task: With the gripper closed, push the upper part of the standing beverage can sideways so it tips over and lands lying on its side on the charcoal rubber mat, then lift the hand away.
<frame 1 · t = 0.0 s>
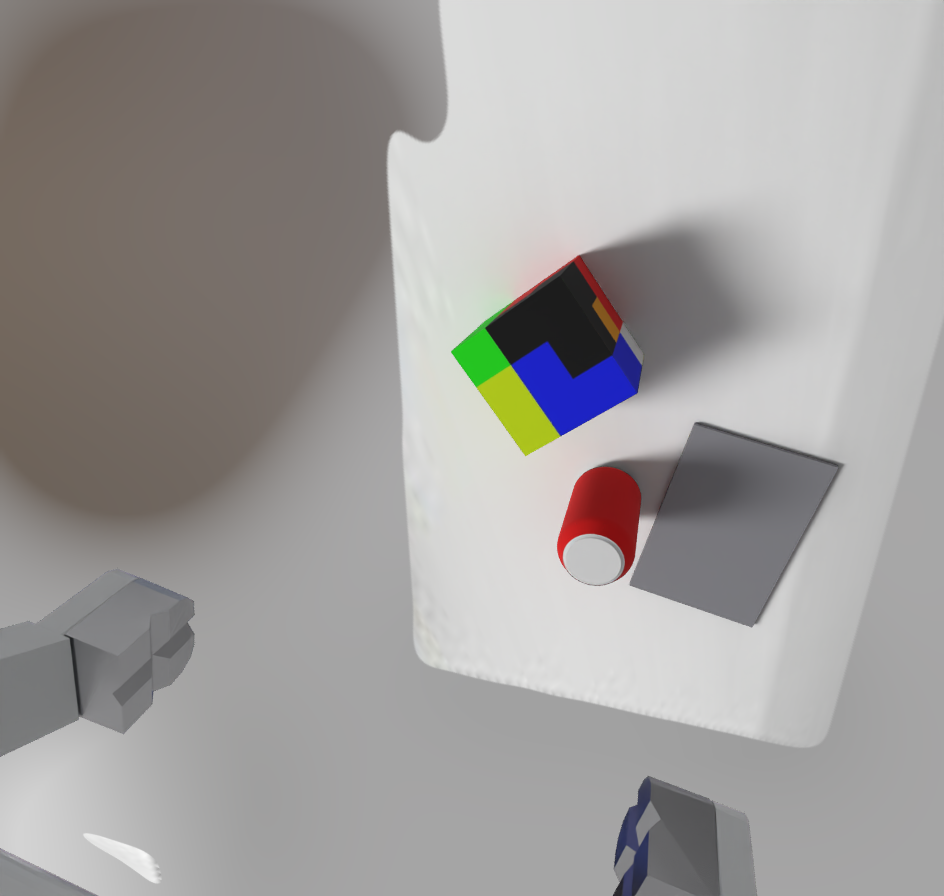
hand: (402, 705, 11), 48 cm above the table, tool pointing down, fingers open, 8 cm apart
beverage can: (607, 490, 62), on the table
puzzle toy: (563, 336, 57), on the table
mat: (724, 528, 60), on the table
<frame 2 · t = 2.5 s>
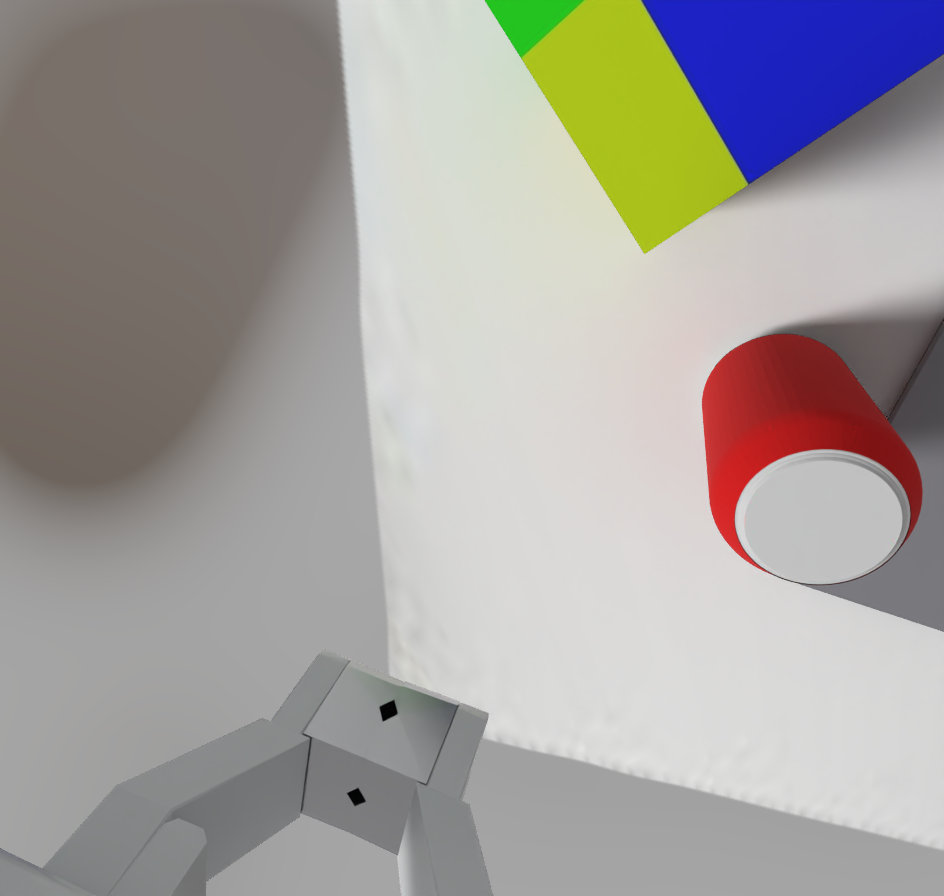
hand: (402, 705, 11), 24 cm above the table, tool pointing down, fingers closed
beverage can: (771, 391, 30), on the table
puzzle toy: (701, 33, 26), on the table
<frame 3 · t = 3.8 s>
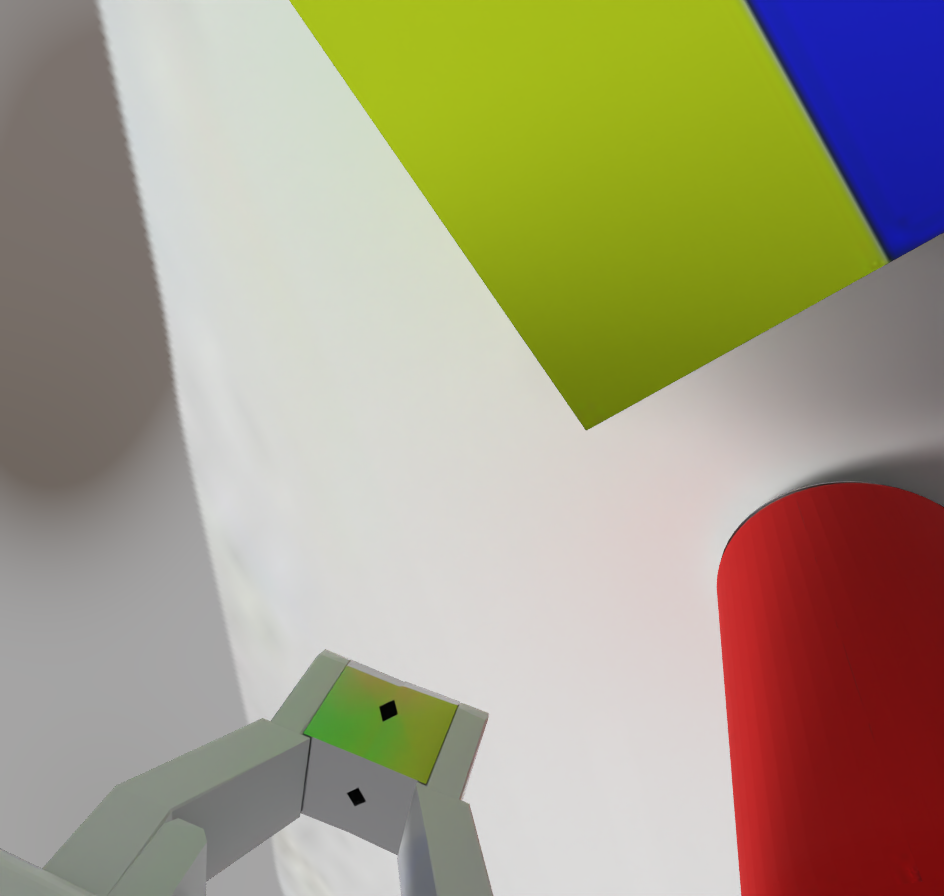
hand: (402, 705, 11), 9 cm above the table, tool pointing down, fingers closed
beverage can: (834, 560, 18), on the table
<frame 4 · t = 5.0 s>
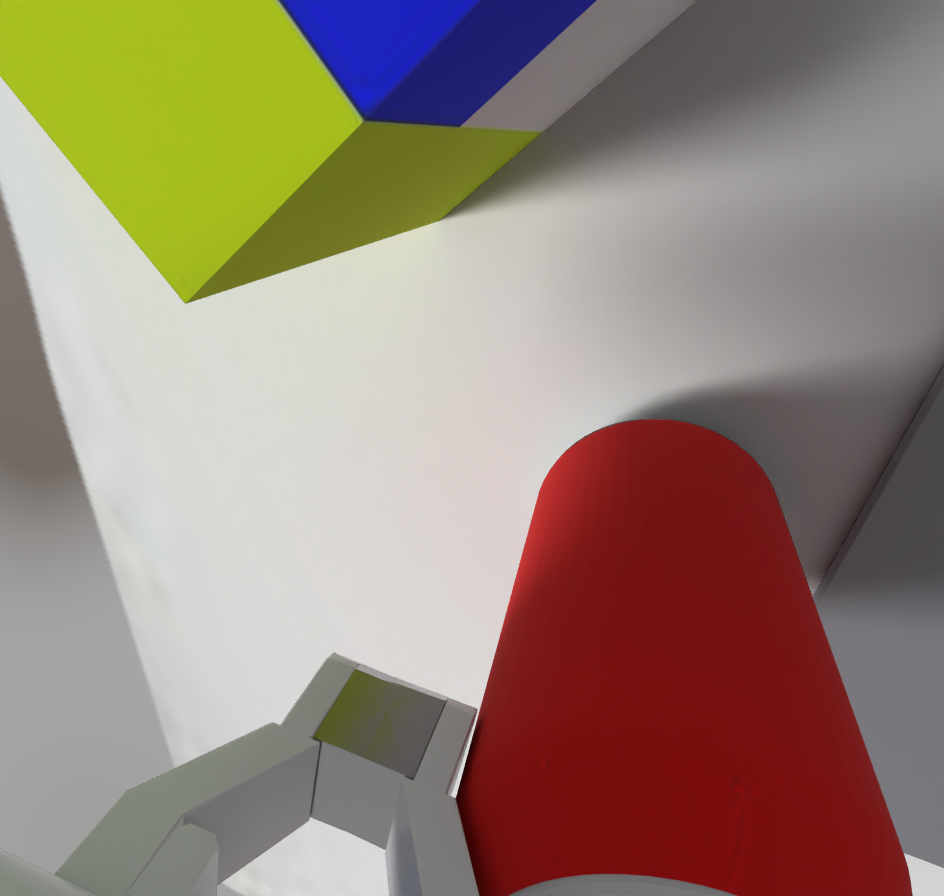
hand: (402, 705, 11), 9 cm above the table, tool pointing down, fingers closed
beverage can: (651, 499, 18), on the table, touching gripper
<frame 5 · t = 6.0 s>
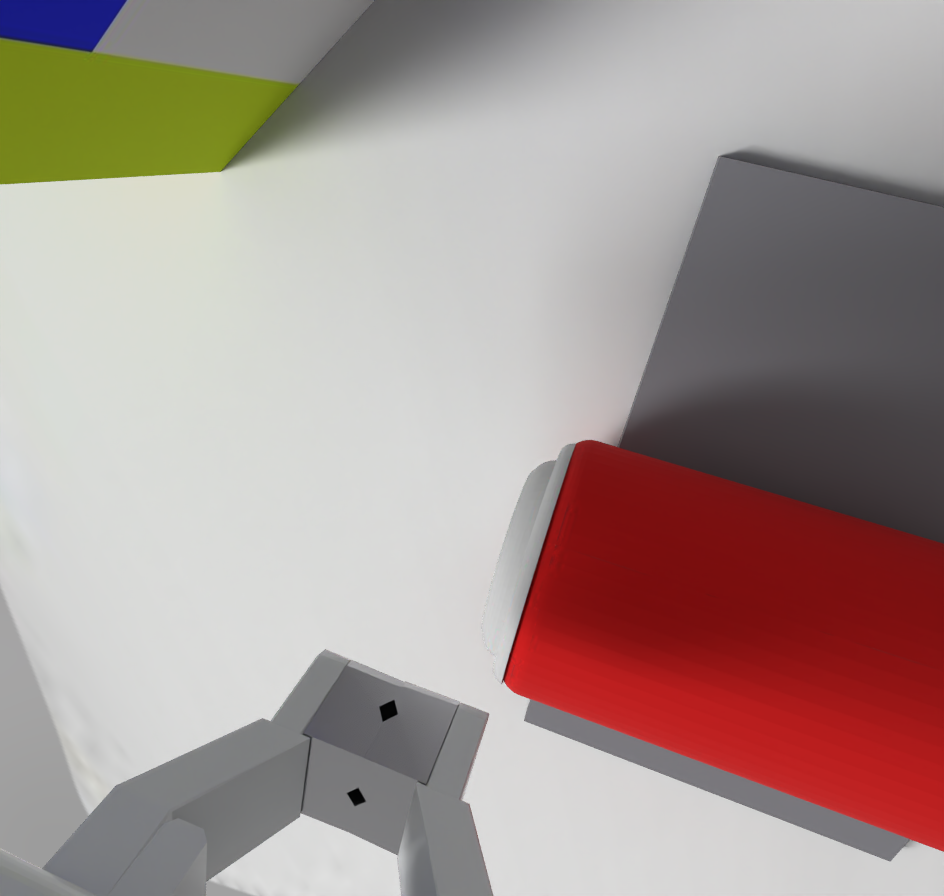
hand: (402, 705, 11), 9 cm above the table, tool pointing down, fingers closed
beverage can: (501, 545, 16), point 4 cm above the table, touching mat
mat: (817, 564, 18), on the table
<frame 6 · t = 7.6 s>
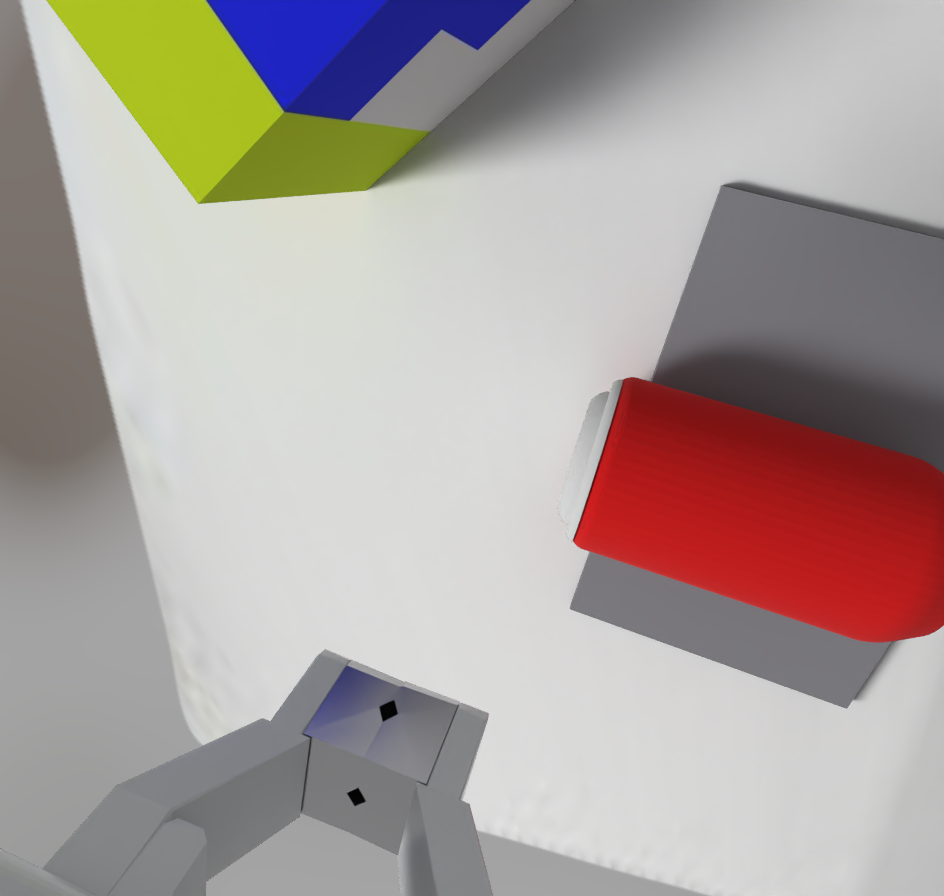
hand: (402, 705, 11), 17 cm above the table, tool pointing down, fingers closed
beverage can: (569, 451, 23), point 4 cm above the table, touching mat
mat: (790, 474, 25), on the table
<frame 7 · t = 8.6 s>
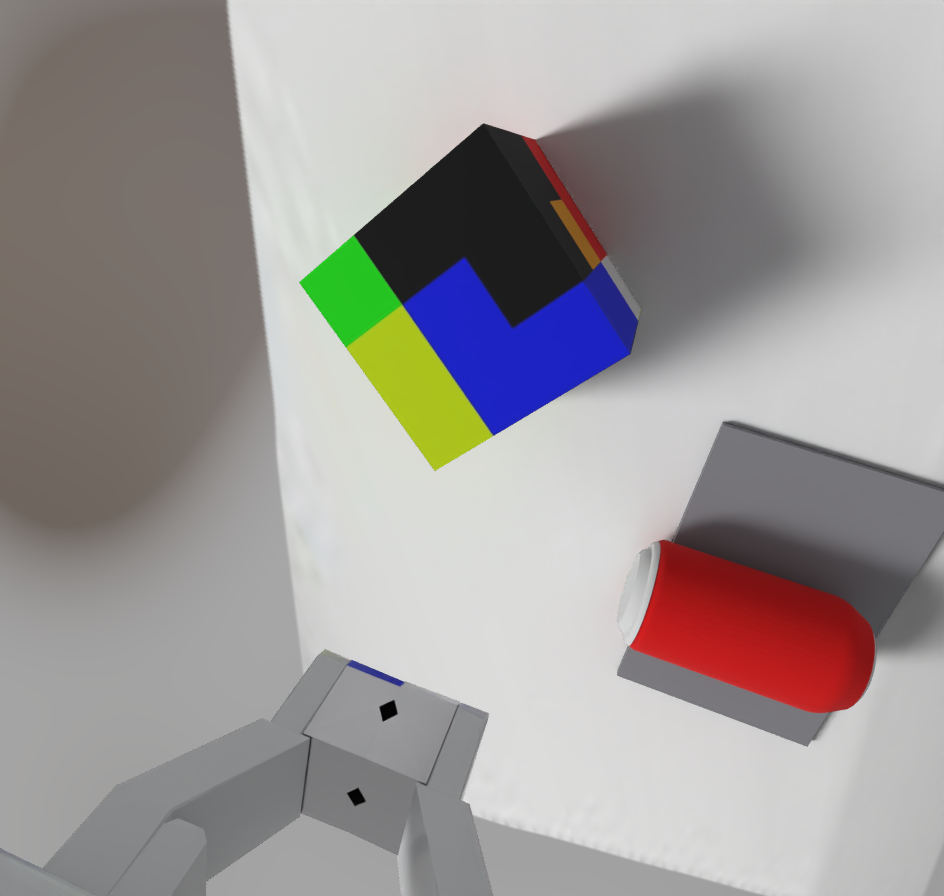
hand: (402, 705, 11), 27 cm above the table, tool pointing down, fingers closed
beverage can: (624, 585, 36), point 4 cm above the table, touching mat
puzzle toy: (511, 282, 35), on the table
mat: (767, 593, 38), on the table
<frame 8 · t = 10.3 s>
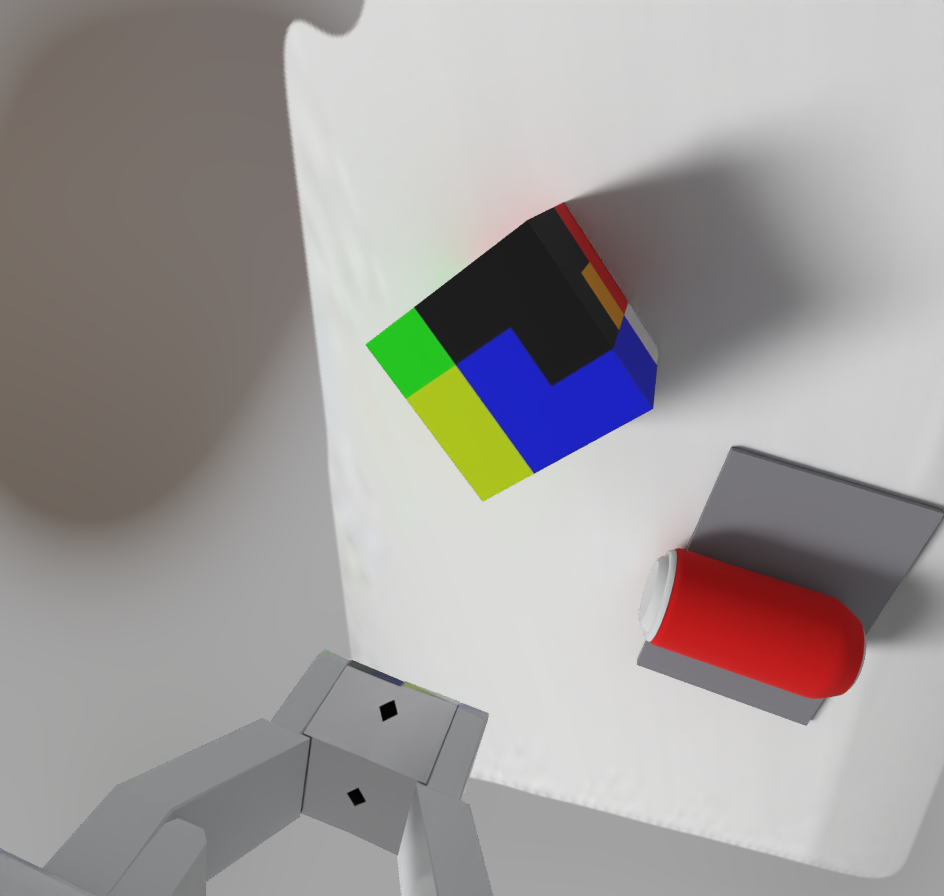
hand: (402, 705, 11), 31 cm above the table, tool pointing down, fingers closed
beverage can: (645, 588, 41), point 4 cm above the table, touching mat
puzzle toy: (542, 324, 40), on the table
mat: (771, 593, 43), on the table
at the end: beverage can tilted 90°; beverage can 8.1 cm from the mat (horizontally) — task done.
